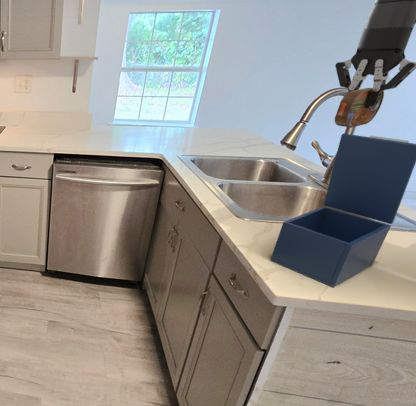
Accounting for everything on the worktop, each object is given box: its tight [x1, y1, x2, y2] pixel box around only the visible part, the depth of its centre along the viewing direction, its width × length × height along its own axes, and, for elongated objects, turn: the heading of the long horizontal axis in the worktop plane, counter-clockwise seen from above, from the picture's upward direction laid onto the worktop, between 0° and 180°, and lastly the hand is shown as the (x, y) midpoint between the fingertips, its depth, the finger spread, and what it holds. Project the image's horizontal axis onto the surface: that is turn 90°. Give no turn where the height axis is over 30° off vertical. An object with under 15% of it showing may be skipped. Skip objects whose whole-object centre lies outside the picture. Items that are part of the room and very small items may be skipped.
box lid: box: [323, 133, 416, 225], centre depth 84 cm, size 20×13×6 cm
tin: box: [334, 87, 385, 129], centre depth 86 cm, size 15×3×8 cm, turn 115°
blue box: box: [269, 205, 392, 288], centre depth 87 cm, size 19×13×11 cm
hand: (359, 106), depth 86 cm, fingers closed on tin, 2 cm apart
